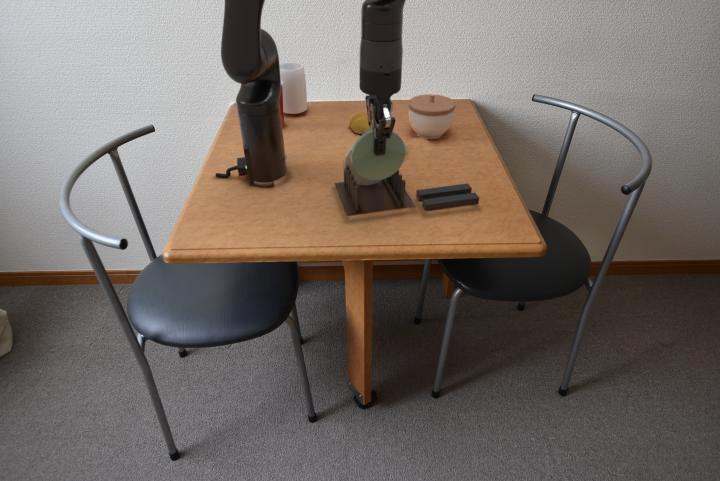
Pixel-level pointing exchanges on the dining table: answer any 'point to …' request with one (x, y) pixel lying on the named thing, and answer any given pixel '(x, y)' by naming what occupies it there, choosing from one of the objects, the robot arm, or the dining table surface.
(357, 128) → the bread roll
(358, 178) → the cream plate
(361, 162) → the sage plate
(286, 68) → the cup
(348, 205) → the dish rack
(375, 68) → the robot arm
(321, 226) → the dining table surface
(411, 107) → the lidded bowl
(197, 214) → the dining table surface
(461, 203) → the plate stand
